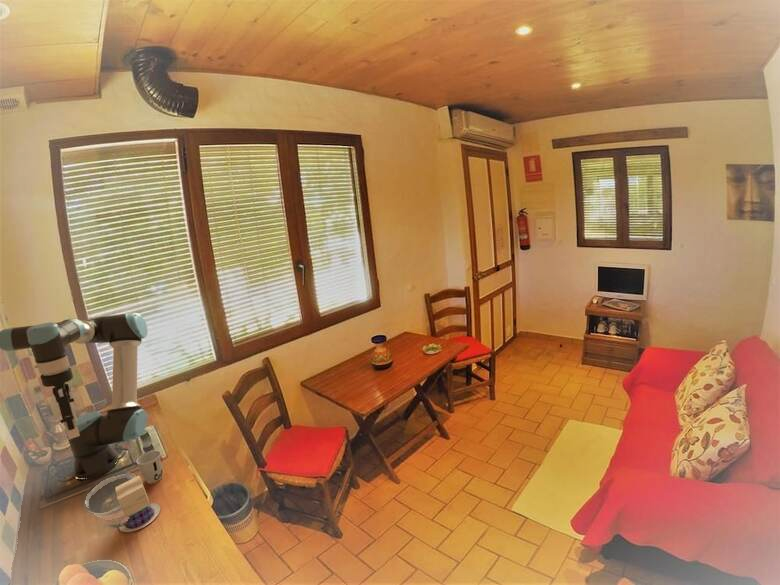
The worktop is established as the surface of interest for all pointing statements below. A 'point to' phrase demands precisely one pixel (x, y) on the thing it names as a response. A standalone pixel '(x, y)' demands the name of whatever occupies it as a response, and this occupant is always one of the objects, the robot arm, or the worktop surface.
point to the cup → (151, 466)
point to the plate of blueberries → (141, 518)
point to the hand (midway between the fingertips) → (73, 429)
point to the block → (132, 496)
